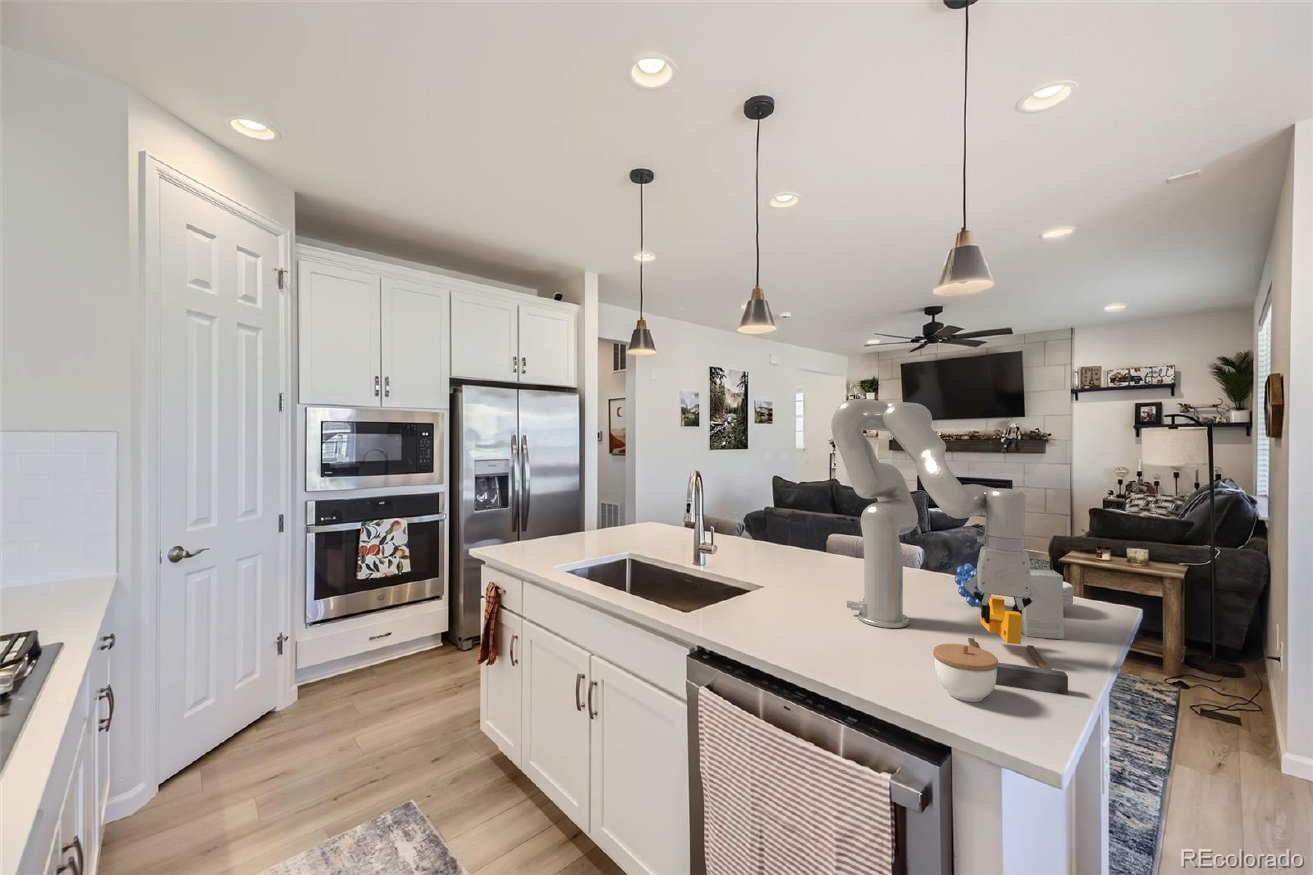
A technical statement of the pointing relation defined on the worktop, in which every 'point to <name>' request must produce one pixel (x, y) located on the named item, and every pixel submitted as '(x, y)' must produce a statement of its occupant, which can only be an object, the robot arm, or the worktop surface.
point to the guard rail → (1031, 675)
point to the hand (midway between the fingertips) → (1000, 622)
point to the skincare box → (1045, 606)
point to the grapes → (962, 579)
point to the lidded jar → (965, 671)
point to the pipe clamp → (1003, 621)
